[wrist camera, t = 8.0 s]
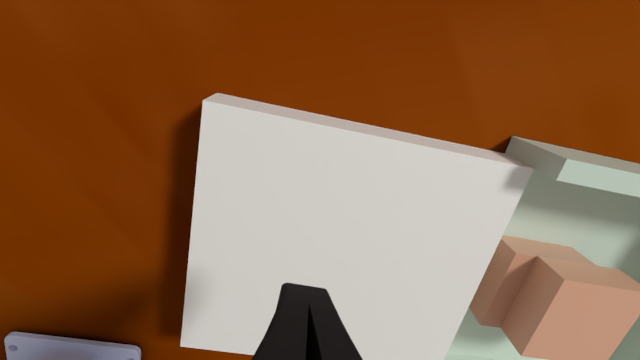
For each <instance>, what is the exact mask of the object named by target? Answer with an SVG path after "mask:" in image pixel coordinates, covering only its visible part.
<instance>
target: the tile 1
mask: <svg viewBox="0 0 640 360" xmlns="http://www.w3.org/2000/svg"><path fill="white" fill-rule="evenodd" d="M537 256H543V257H549V258H555V259H561V260H566V261H572V262H578V263H584V264H590V265H595V264H594V263H593V262H591V261H590V260H588V259H587V258H586V257H584V256H583V255H582V254H580V253H579V252H578V251H576V250H575V249H574V248H572V247H569V246H563V245H558V244H552V243H546V242H541V241H535V240H529V239H524V238H518V237H512V236H507V235H503V236H502V238H501V240H500V242H499V244H498V246H497V248H496V250H495V253H494V255H493V257H492V259H491V261H490V263H489V265H488V267H487V269H486V272H485V274H484V276H483V278H482V280H481V282H480V284H479V286H478V288H477V291H476V293H475V295H474V297H473V299H472V301H471V303H470V305H469V308H470V310H471V311H472V313H473V315H474V316H475V318H476V319H477V321H478V322H479V324H480V325H483V326H490V327H498V328H500V326H501V324H502V322H503V320H504V318H505V317H506V315H507V313H508V311H509V309H510V307H511V305H512V303H513V301H514V299H515V297H516V296H517V294H518V292H519V290H520V288H521V286H522V284H523V282H524V280H525V278H526V277H527V275H528V273H529V271H530V269H531V267H532V265H533V263H534V261H535V259H536V257H537ZM596 266H597V265H596Z"/></svg>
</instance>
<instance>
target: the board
mask: <svg viewBox="0 0 640 360" xmlns="http://www.w3.org/2000/svg"><path fill="white" fill-rule="evenodd" d="M533 170H534V168H532V167H530V166H528V165H526V164H524V163H522V162H520V161H518V160H516V159H514V158H512V157H511V156H509V155H507V154H505V153H500V152H495V151H491V150H486V149H481V148H476V147H472V146H467V145H462V144H457V143H453V142H448V141H443V140H439V139H434V138H429V137H424V136H420V135H415V134H410V133H405V132H401V131H396V130H391V129H386V128H382V127H377V126H372V125H367V124H363V123H358V122H353V121H348V120H344V119H339V118H334V117H329V116H325V115H320V114H315V113H310V112H306V111H301V110H296V109H291V108H287V107H282V106H277V105H272V104H268V103H263V102H258V101H253V100H249V99H244V98H239V97H235V96H230V95H225V94H220V93H216V94H214V95H212V96H210V97H208V98H206V99H204V100H203V104H202V115H201V126H200V137H199V147H198V158H197V169H196V180H195V191H194V202H193V213H192V224H191V235H190V246H189V257H188V268H187V278H186V289H185V300H184V311H183V322H182V333H181V344H180V346H181V347H189V348H198V349H206V350H215V351H223V352H232V353H240V354H249V355H254V354H255V352H256V350H257V349H258V347H259V345H260V343H261V341H262V339H263V338H264V336H265V334H266V331H267V329H268V327H269V325H270V323H271V320H272V318H273V316H274V314H275V311H276V307H277V303H278V299H279V295H280V290H281V286H282V285H283V284H284V283H286V282H287V283H293V284H300V285H306V286H312V287H319V288H325V289H326V290H327V291H328V293H329V295H330V297H331V300H332V302H333V304H334V306H335V308H336V310H337V312H338V315H339V317H340V319H341V321H342V323H343V325H344V327H345V328H346V330H347V332H348V334H349V336H350V338H351V340H352V341H353V343H354V345H355V347H356V349H357V350H358V352H359V354H360V356H361V357H362V359H363V360H444V358H445V356H446V354H447V352H448V350H449V348H450V346H451V343H452V341H453V339H454V337H455V335H456V333H457V331H458V329H459V326H460V324H461V322H462V320H463V318H464V316H465V314H466V312H467V310H468V307H469V305H470V303H471V301H472V299H473V297H474V295H475V293H476V291H477V288H478V286H479V284H480V282H481V280H482V278H483V276H484V274H485V272H486V269H487V267H488V265H489V263H490V261H491V259H492V257H493V255H494V253H495V250H496V248H497V246H498V244H499V242H500V240H501V238H502V236H503V233H504V231H505V229H506V227H507V225H508V223H509V221H510V219H511V217H512V214H513V212H514V210H515V208H516V206H517V204H518V202H519V200H520V198H521V195H522V193H523V191H524V189H525V187H526V185H527V183H528V181H529V179H530V176H531V174H532V172H533Z"/></svg>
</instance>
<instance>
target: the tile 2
mask: <svg viewBox="0 0 640 360" xmlns="http://www.w3.org/2000/svg"><path fill="white" fill-rule="evenodd" d="M639 315H640V284H639V283H638V282H636V281H635V280H634V279H632V278H631V277H629V276H628V275H626V274H625V273H624V272H622V271H621V270H619V269H614V268H608V267H602V266H596V265H590V264H584V263H578V262H572V261H566V260H561V259H555V258H549V257H543V256H537V257H536V259H535V261H534V263H533V265H532V267H531V269H530V271H529V273H528V275H527V277H526V278H525V280H524V282H523V284H522V286H521V288H520V290H519V292H518V294H517V296H516V297H515V299H514V301H513V303H512V305H511V307H510V309H509V311H508V313H507V315H506V317H505V318H504V320H503V322H502V324H501V326H500V328H501V329H502V330H503V332H504V333H505V335H506V336H507V337H508V339H509V340H510V342H511V343H512V344H513V346H514V347H515V349H516V350H517V352H518V353H519V354H520V356H523V357H531V358H539V359H547V360H608V359H609V358H610V357H611V355H612V354H613V352H614V351H615V350H616V348H617V347H618V345H619V344H620V342H621V341H622V340H623V338H624V337H625V335H626V334H627V333H628V331H629V330H630V328H631V327H632V325H633V324H634V323H635V321H636V320H637V318H638V317H639Z"/></svg>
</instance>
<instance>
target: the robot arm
mask: <svg viewBox="0 0 640 360" xmlns="http://www.w3.org/2000/svg"><path fill="white" fill-rule="evenodd" d="M4 343H5V350H6V356H7V360H141V349H140V348H139V347H137V346H135V345H127V344H119V343H110V342H102V341H93V340H84V339H76V338H67V337H59V336H50V335H41V334H33V333H24V332H11V333H9V334H8V335H7V336H6V337H5V338H4ZM252 360H363V359H362V357H361V356H360V354H359V352H358V350H357V349H356V347H355V345H354V343H353V341H352V340H351V338H350V336H349V334H348V332H347V330H346V328H345V327H344V325H343V323H342V321H341V319H340V317H339V315H338V312H337V310H336V308H335V306H334V304H333V302H332V300H331V297H330V295H329V293H328V291H327V290H326V289H325V288H319V287H312V286H306V285H300V284H293V283H287V282H286V283H284V284H283V285H282V286H281V290H280V295H279V299H278V303H277V307H276V311H275V314H274V316H273V318H272V320H271V323H270V325H269V327H268V329H267V331H266V334H265V336H264V338H263V339H262V341H261V343H260V345H259V347H258V349H257V350H256V352H255V354H254V356H253V358H252Z"/></svg>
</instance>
